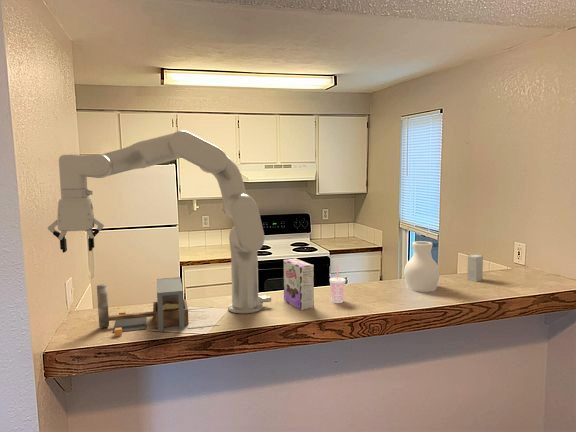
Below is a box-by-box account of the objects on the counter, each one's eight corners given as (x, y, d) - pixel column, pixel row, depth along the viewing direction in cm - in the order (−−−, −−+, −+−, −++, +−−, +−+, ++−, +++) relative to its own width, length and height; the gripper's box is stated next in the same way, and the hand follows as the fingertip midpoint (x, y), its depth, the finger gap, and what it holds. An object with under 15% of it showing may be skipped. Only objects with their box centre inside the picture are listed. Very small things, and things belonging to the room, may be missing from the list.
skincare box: (473, 280, 198) (474, 254, 196) (482, 282, 194) (483, 255, 193) (466, 282, 194) (467, 255, 192) (475, 284, 190) (476, 257, 189)
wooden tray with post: (186, 312, 156) (184, 274, 154) (188, 324, 144) (187, 283, 143) (101, 321, 148) (99, 281, 147) (96, 334, 137) (94, 290, 135)
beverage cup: (327, 304, 165) (327, 267, 163) (331, 299, 171) (331, 264, 169) (344, 305, 163) (344, 268, 162) (346, 300, 169) (346, 265, 167)
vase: (425, 296, 173) (426, 246, 171) (396, 289, 184) (397, 242, 182) (446, 290, 182) (447, 243, 179) (417, 283, 193) (418, 238, 191)
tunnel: (211, 307, 162) (210, 274, 161) (219, 325, 143) (218, 288, 142) (116, 316, 153) (114, 281, 152) (111, 337, 134) (108, 297, 133)
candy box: (283, 301, 169) (282, 259, 168) (296, 298, 172) (296, 257, 170) (300, 311, 157) (300, 266, 155) (314, 308, 160) (314, 264, 158)
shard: (184, 316, 152) (183, 311, 153) (196, 308, 148) (195, 303, 149) (155, 315, 145) (155, 310, 146) (167, 307, 141) (167, 301, 142)
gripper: (105, 193, 142) (108, 247, 144) (46, 194, 137) (50, 250, 139) (103, 194, 135) (106, 251, 137) (40, 196, 130) (44, 255, 132)
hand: (77, 250), depth 138 cm, fingers open, 6 cm apart
